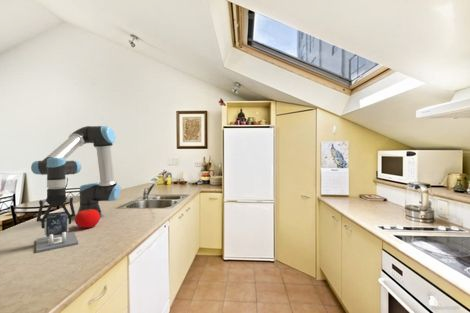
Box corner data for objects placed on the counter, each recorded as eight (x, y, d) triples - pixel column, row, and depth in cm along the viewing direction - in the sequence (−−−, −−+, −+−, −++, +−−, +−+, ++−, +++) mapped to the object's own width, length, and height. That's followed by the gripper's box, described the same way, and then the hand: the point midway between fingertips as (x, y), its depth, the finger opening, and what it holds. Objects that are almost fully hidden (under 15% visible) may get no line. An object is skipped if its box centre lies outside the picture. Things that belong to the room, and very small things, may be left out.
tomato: (104, 224, 148) (104, 207, 148) (85, 231, 136) (84, 212, 136) (90, 223, 152) (90, 206, 152) (70, 229, 140) (70, 210, 140)
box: (46, 237, 115) (46, 215, 115) (47, 233, 119) (47, 213, 119) (66, 234, 119) (65, 213, 119) (66, 231, 124) (66, 211, 124)
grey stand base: (73, 233, 132) (73, 223, 132) (78, 244, 117) (78, 232, 117) (36, 240, 122) (36, 228, 122) (36, 252, 107) (36, 239, 106)
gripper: (80, 185, 129) (80, 226, 129) (29, 189, 115) (29, 235, 115) (82, 186, 123) (82, 229, 123) (28, 190, 109) (29, 239, 110)
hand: (56, 232), depth 119 cm, fingers closed on box, 8 cm apart
